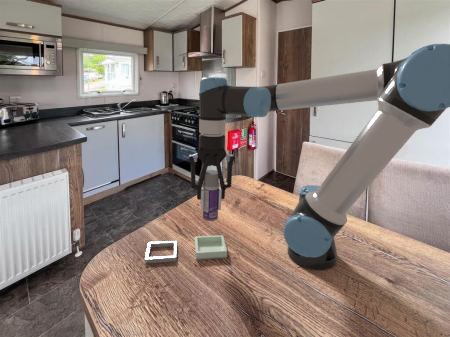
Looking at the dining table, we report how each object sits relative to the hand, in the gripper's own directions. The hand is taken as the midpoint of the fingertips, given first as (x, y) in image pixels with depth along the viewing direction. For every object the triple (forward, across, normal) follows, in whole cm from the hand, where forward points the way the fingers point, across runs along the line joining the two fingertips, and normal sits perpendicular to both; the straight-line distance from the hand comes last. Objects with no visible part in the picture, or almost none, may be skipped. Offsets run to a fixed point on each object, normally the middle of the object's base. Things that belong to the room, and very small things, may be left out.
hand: (210, 208), depth 88 cm
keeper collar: (+15, +15, 0) cm, 21 cm away
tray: (+15, 0, 0) cm, 15 cm away
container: (+3, 0, 0) cm, 3 cm away
